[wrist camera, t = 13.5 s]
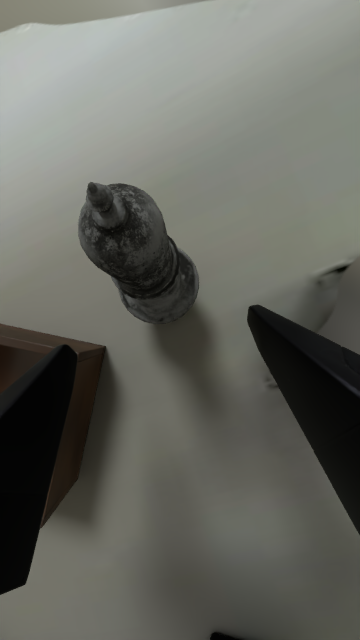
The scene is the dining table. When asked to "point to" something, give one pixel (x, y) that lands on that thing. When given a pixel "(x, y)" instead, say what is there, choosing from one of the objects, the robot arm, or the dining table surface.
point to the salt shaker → (137, 252)
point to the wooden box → (23, 353)
